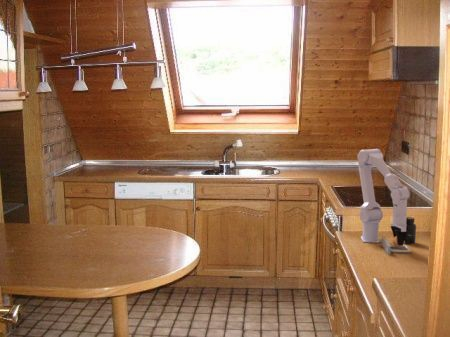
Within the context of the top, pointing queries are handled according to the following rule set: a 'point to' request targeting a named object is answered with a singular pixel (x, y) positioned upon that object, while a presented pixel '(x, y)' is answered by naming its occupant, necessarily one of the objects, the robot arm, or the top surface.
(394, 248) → the mat
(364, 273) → the top surface
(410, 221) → the supplement bottle
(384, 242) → the grey wall
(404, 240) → the coral ball
